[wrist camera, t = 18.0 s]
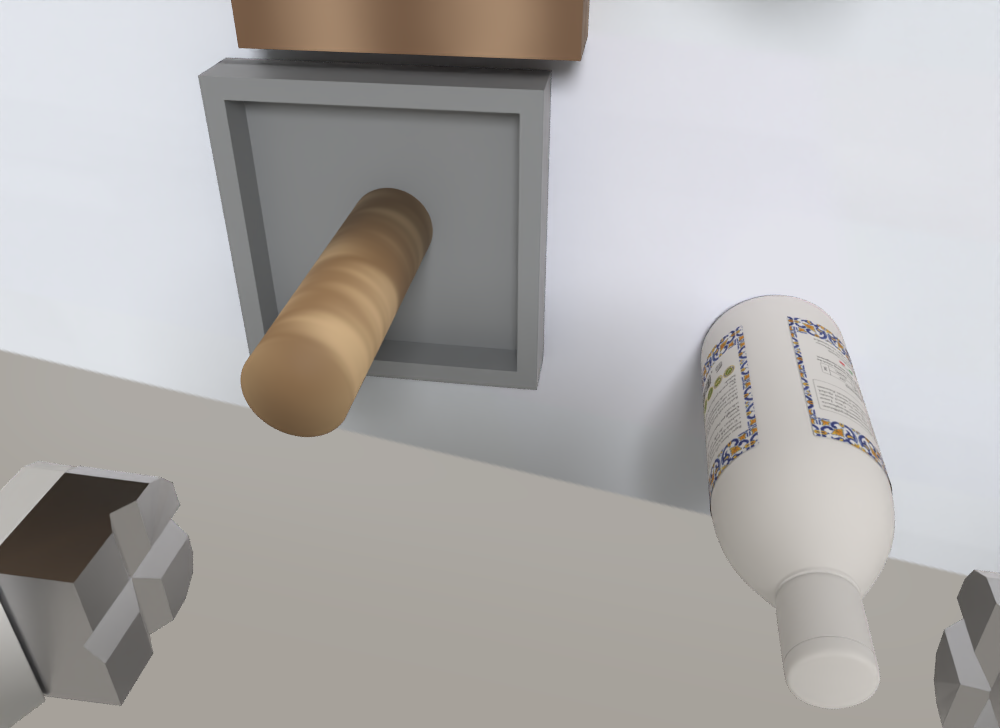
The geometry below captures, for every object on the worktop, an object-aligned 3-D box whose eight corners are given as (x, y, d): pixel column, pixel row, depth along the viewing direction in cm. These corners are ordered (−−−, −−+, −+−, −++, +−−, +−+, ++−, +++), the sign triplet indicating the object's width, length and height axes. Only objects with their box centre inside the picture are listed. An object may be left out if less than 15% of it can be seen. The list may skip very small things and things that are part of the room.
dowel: (431, 190, 42) (343, 349, 30) (434, 266, 44) (354, 441, 33) (348, 185, 43) (231, 340, 31) (356, 260, 45) (249, 431, 33)
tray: (551, 70, 39) (544, 90, 37) (543, 357, 47) (536, 390, 45) (226, 57, 41) (197, 75, 39) (272, 336, 49) (251, 365, 47)
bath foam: (712, 415, 48) (739, 753, 31) (688, 305, 44) (703, 618, 28) (849, 395, 46) (955, 744, 29) (835, 278, 42) (945, 597, 26)
